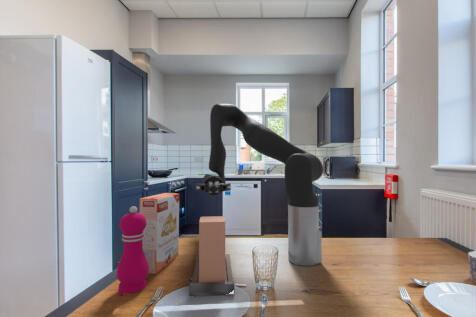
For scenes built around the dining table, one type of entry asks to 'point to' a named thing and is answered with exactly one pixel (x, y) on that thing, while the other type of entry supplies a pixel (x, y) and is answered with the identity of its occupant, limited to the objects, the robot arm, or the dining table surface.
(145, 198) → the cracker box
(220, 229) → the block
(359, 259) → the dining table surface
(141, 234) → the pepper mill
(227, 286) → the chute
